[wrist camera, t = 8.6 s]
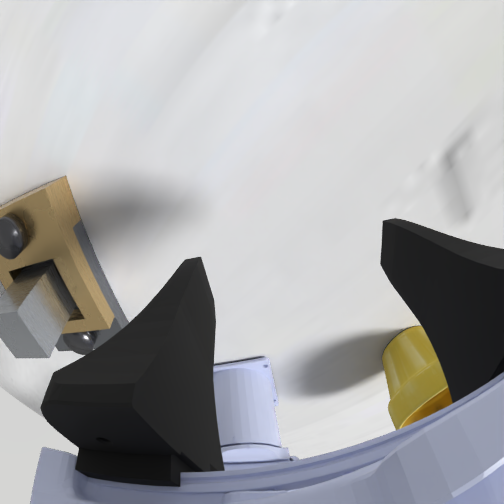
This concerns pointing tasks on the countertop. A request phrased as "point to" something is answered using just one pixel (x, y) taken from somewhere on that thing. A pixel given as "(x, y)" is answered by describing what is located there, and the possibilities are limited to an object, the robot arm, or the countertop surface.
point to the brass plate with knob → (60, 261)
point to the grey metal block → (35, 311)
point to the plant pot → (414, 378)
